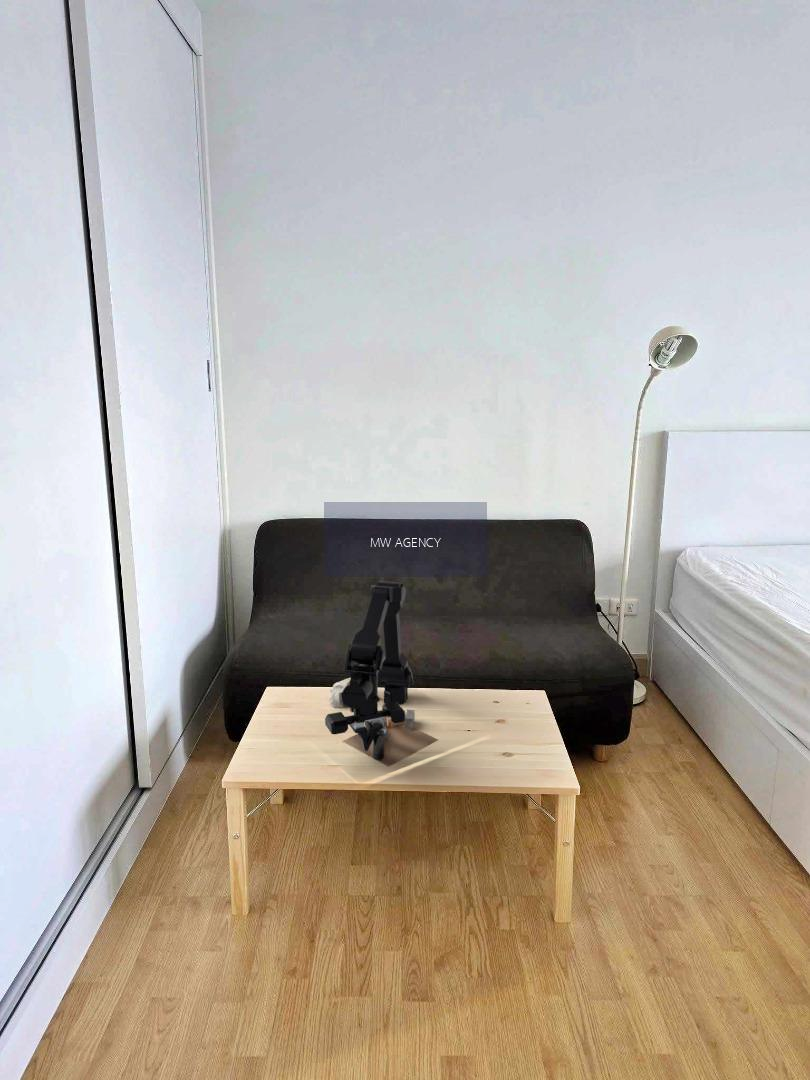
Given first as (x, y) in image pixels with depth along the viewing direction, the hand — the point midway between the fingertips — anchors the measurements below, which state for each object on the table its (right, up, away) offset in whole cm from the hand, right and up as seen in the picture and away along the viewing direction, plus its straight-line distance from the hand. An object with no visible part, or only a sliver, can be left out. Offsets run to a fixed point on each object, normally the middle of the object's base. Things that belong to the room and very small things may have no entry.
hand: (365, 750), depth 177 cm
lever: (+3, 0, +9) cm, 10 cm away
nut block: (+6, +2, +19) cm, 21 cm away
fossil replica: (-7, +4, +33) cm, 33 cm away
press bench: (+7, -1, +12) cm, 13 cm away
